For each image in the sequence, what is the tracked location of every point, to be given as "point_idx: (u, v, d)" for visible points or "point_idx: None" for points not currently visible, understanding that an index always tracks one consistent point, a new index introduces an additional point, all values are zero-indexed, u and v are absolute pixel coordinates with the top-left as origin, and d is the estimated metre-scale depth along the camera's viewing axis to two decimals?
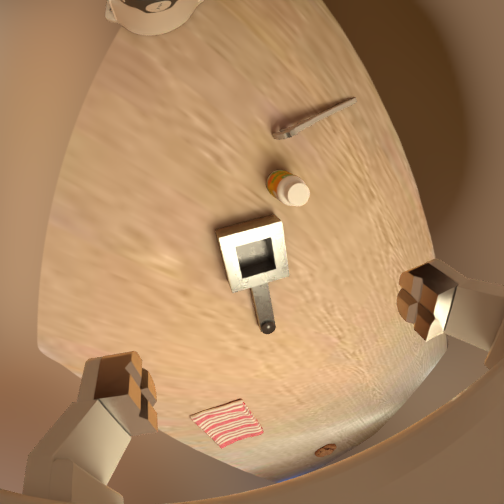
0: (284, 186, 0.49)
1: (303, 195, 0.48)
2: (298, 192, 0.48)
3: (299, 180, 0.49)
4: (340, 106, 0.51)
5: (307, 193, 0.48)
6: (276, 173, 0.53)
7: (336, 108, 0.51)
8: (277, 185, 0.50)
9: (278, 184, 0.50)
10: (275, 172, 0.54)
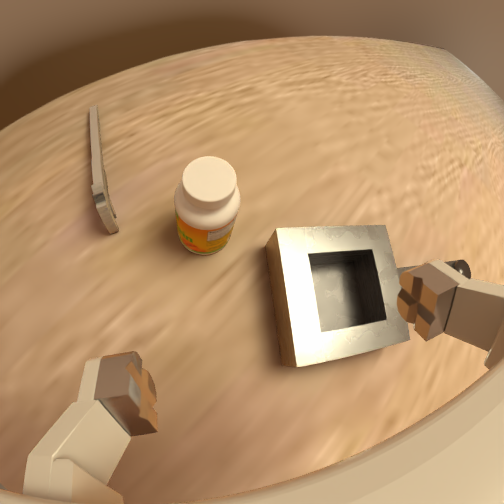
0: (190, 211, 0.22)
1: (212, 168, 0.21)
2: (203, 178, 0.21)
3: None
4: (92, 123, 0.30)
5: (209, 160, 0.21)
6: (178, 231, 0.27)
7: (92, 127, 0.29)
8: (191, 227, 0.23)
9: (189, 224, 0.23)
10: (178, 234, 0.28)
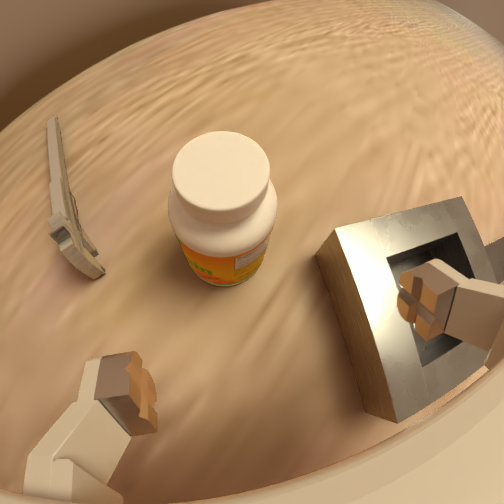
0: (199, 231, 0.13)
1: (223, 150, 0.12)
2: (210, 169, 0.11)
3: None
4: (49, 136, 0.21)
5: (214, 138, 0.12)
6: (188, 261, 0.18)
7: (50, 142, 0.21)
8: (205, 256, 0.14)
9: (201, 253, 0.14)
10: (189, 263, 0.19)
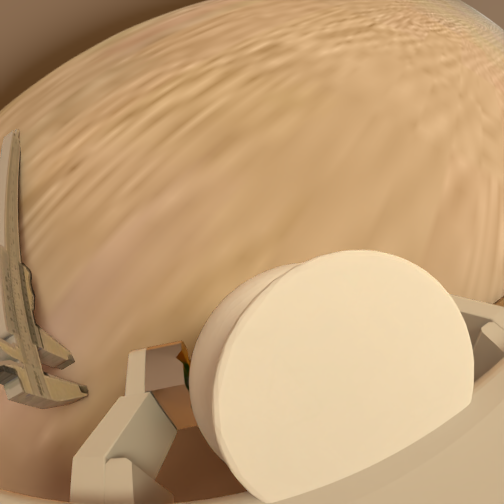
0: None
1: (374, 332, 0.03)
2: (343, 411, 0.03)
3: (211, 345, 0.05)
4: (1, 164, 0.13)
5: (344, 281, 0.04)
6: None
7: None
8: None
9: None
10: None
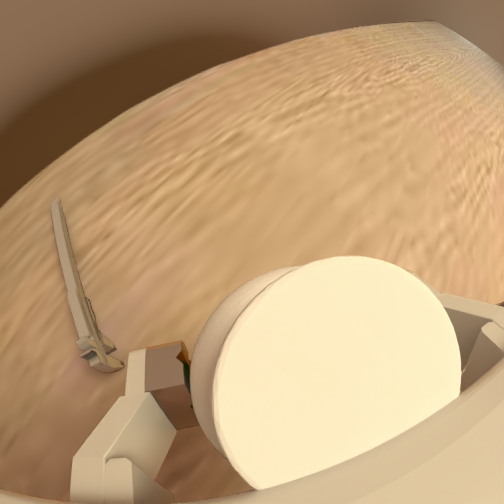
0: None
1: (363, 333, 0.04)
2: (333, 406, 0.03)
3: (211, 344, 0.06)
4: (56, 230, 0.25)
5: (334, 285, 0.04)
6: None
7: (58, 238, 0.25)
8: None
9: None
10: None
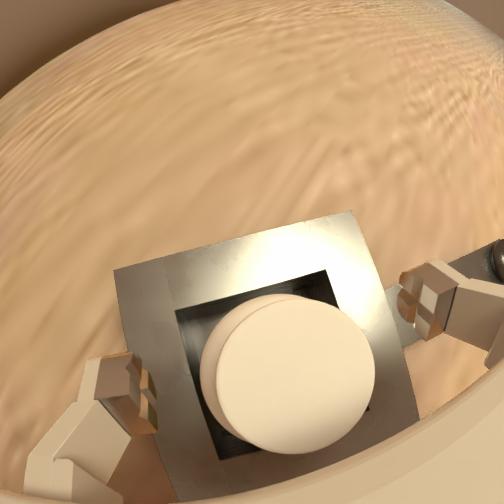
0: None
1: (303, 345, 0.07)
2: (284, 385, 0.06)
3: (215, 347, 0.09)
4: None
5: (286, 316, 0.07)
6: None
7: None
8: None
9: None
10: None
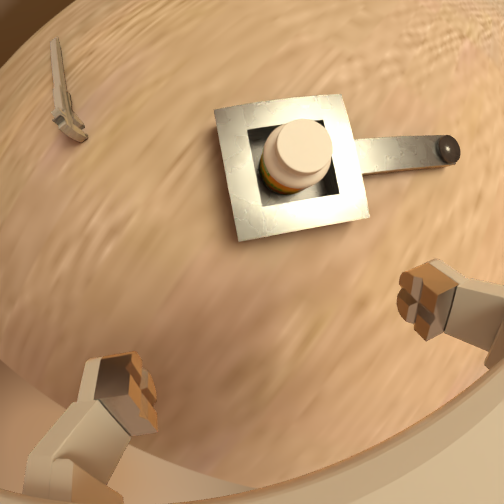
0: (285, 174, 0.21)
1: (307, 133, 0.19)
2: (300, 145, 0.19)
3: (272, 138, 0.21)
4: (52, 55, 0.25)
5: (302, 123, 0.19)
6: (263, 178, 0.27)
7: (53, 59, 0.25)
8: (285, 186, 0.23)
9: (283, 184, 0.23)
10: (262, 178, 0.27)
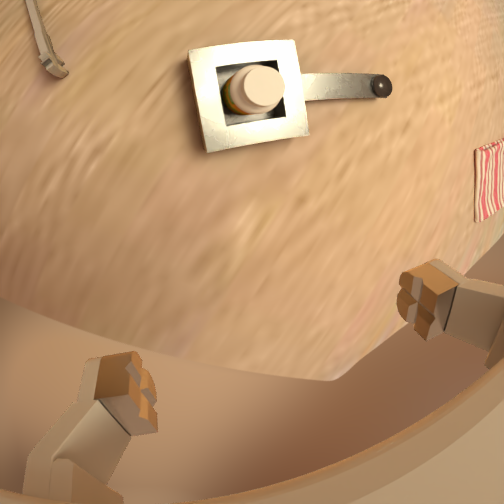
0: (247, 104, 0.26)
1: (266, 77, 0.24)
2: (260, 86, 0.24)
3: (238, 77, 0.25)
4: (27, 1, 0.17)
5: (263, 70, 0.23)
6: (226, 103, 0.31)
7: (28, 5, 0.18)
8: (245, 112, 0.28)
9: (244, 111, 0.28)
10: (224, 103, 0.31)
